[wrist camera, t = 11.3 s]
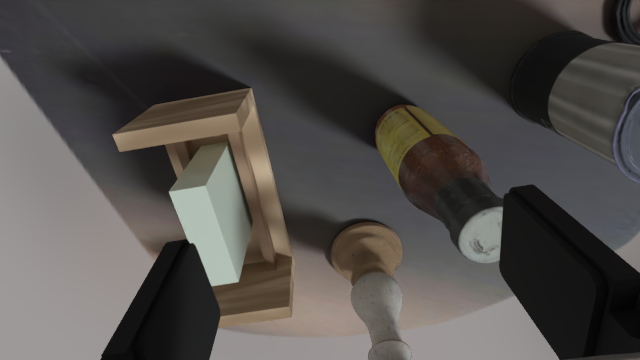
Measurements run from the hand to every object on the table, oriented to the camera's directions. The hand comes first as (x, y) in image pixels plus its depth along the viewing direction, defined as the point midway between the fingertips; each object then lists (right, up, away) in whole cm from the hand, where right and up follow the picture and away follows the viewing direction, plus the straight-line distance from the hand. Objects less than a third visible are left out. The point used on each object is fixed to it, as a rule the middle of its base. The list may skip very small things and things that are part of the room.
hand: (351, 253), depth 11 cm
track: (-11, +1, +31) cm, 33 cm away
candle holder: (+5, -6, +35) cm, 36 cm away
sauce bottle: (+8, +8, +28) cm, 30 cm away
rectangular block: (-11, +2, +29) cm, 31 cm away
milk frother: (+26, +15, +25) cm, 39 cm away
